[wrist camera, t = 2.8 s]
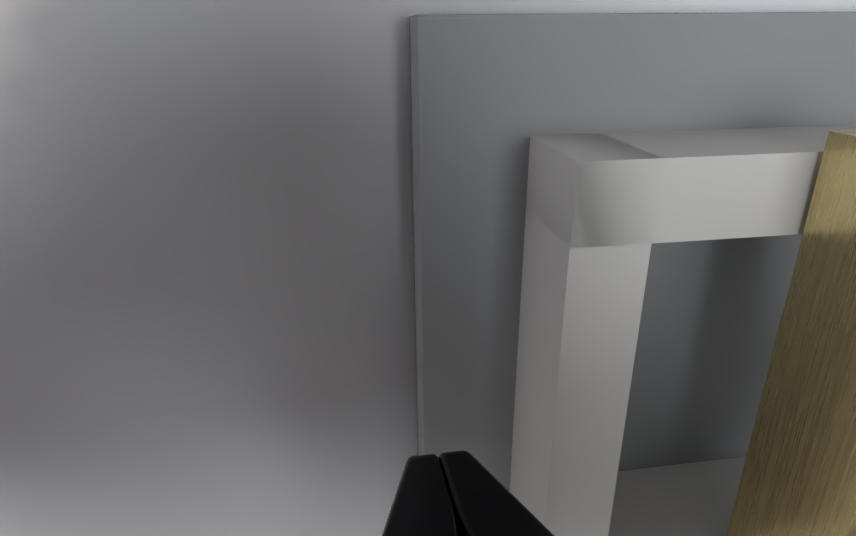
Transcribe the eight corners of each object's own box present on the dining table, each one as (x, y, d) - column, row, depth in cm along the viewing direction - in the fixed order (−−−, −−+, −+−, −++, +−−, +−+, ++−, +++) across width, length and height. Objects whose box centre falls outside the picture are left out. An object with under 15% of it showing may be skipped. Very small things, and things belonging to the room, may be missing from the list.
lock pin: (773, 632, 12) (853, 742, 10) (691, 645, 12) (758, 760, 10) (936, 126, 8) (1116, 156, 6) (819, 131, 8) (970, 163, 6)
